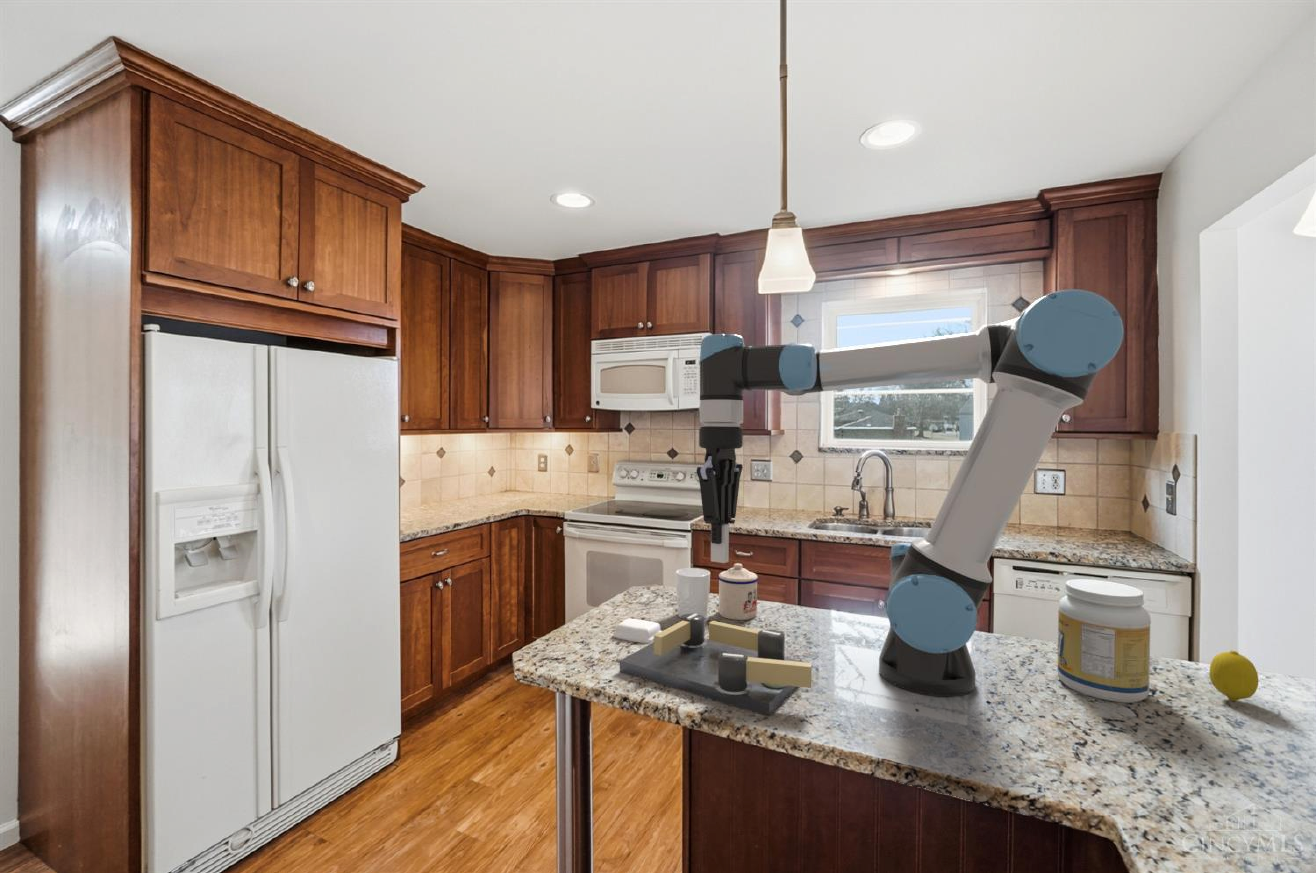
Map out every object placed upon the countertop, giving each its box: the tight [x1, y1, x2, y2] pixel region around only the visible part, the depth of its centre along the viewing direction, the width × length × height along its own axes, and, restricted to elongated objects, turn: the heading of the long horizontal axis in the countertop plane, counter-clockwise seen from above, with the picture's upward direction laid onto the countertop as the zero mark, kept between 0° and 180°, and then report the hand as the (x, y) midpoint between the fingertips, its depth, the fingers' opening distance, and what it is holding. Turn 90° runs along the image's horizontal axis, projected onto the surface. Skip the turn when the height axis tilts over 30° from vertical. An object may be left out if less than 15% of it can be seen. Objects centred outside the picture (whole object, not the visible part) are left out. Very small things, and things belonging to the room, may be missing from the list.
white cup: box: [675, 567, 711, 619], centre depth 134 cm, size 8×8×10 cm
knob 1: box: [653, 613, 706, 656], centre depth 108 cm, size 14×5×5 cm, turn 146°
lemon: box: [1209, 650, 1259, 702], centre depth 93 cm, size 6×6×8 cm
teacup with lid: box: [717, 562, 759, 621], centre depth 136 cm, size 12×9×12 cm
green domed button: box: [763, 683, 787, 688], centre depth 94 cm, size 4×4×1 cm
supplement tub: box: [1056, 578, 1152, 703], centre depth 97 cm, size 12×12×17 cm
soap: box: [613, 617, 663, 644], centre depth 121 cm, size 9×7×3 cm
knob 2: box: [708, 620, 786, 660], centre depth 106 cm, size 14×5×5 cm, turn 56°
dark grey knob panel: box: [619, 637, 810, 717], centre depth 102 cm, size 28×19×2 cm
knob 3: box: [718, 651, 812, 691], centre depth 92 cm, size 14×5×5 cm, turn 76°
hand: (719, 561), depth 102 cm, fingers closed
